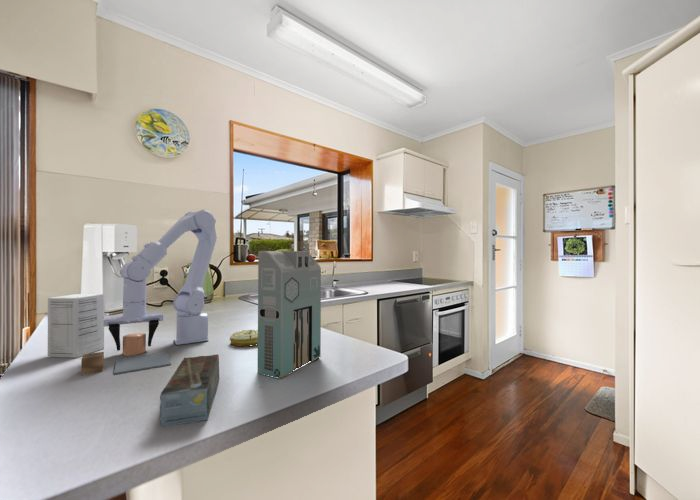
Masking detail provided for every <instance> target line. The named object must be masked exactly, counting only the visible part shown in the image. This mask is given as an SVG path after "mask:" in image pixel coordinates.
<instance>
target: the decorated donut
mask: <svg viewBox="0 0 700 500" xmlns="http://www.w3.org/2000/svg"><path fill="white" fill-rule="evenodd" d="M229 341H230V344H231V345H233V346H235V345H237V346H236V347H241V346H244V347H245V346H247V347H251V346H250V345H255V346H257V345H256V344H258V329H247V330H246V329H245V330H240V331H235V332H234V333H232V334H230V337H229Z"/></svg>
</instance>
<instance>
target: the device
mask: <svg viewBox="0 0 700 500" xmlns="http://www.w3.org/2000/svg"><path fill="white" fill-rule="evenodd" d="M257 253H258V255H257V257H258V259H257V260H258V262H257V263H258V264H257V265H258V268H257V277H258V278H257V284H258V285H257V330H258V345H257V373H259V374H258V375H261V374H265V375H269V376H268V377H270V376H273V377H272V378H274V377H278V378H281V379H283V378H284V377H287V376H288V375H290V374H292V373H294V372H293V370H295V369H296V368H299V367H301V366H302V365H304V364H306V363H308V362H309V361H311V362H312V361H314V360H316V359H317V358H319V357H320V358H321V356H322V355H321V353H322V352H321V346H322V345H321V342H322V341H321V338H322V337H321V336H322V335H321V334H322V331H321V330H322V328H321V326H322V325H321V323H322V322H321V321H322V318H321V317H322V316H321V315H322V314H321V313H322V303H321V302H322V298H321V297H322V268H321V266H320V264H319V263H318V262H317V261H316V260H315V258H314V257H313V256H312V254H311V252H310V251H309V250H308V251H307V250H305V251H303V250H302V251H301V250H299V251H297V250H294V251H293V250H291V251H290V250H289V251H288V250H287V251H286V250H285V251H284V250H282V251H281V250H278V251H276V250H259V251H258V252H257ZM316 361H317V360H316ZM314 362H315V361H314ZM312 363H313V362H312ZM291 372H292V373H291ZM289 373H290V374H289ZM265 375H264V376H265ZM282 377H283V378H282ZM278 378H277V379H278Z"/></svg>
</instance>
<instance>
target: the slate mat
mask: <svg viewBox="0 0 700 500" xmlns="http://www.w3.org/2000/svg"><path fill="white" fill-rule="evenodd" d="M171 365H172V363H171V359H170V357H169V353H168V351H164V352H163V351H162V352H156V353H150V354H141V355H134V356H129V357H122V358H116V361H115V365H114V366H115V367H114V370H113V375H114V376H115V375H120V374H126V373H132V372H138V371H144V370H149V369H155V368H162V367H167V366H171Z"/></svg>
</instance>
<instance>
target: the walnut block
mask: <svg viewBox="0 0 700 500" xmlns="http://www.w3.org/2000/svg"><path fill="white" fill-rule="evenodd" d="M80 360H81V366H80V367H81V368H80V369H81V371H80V372H81V373H80V375H81V376H84V375H92V374H96V373H97V374H98V373H103V372H104V367H105V366H104V365H105V363H104V362H105V361H104V360H105V352H104V351H97V352H92V353H89V354H84V355H83V356H81V359H80Z"/></svg>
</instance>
